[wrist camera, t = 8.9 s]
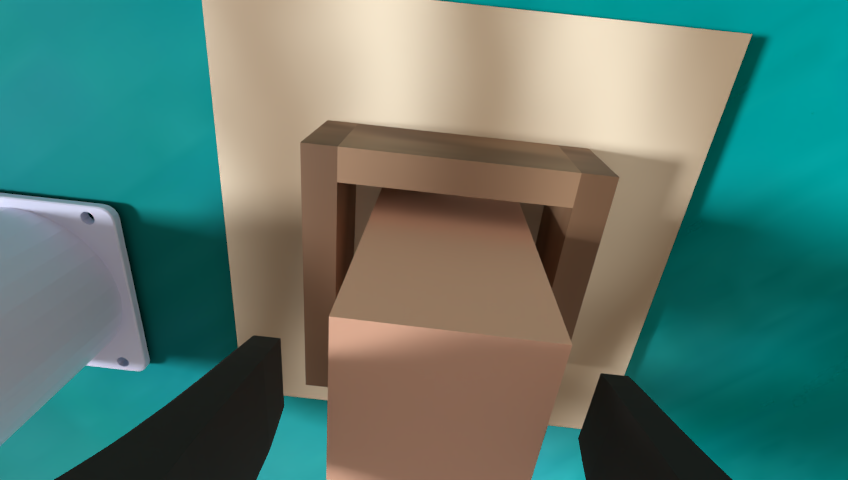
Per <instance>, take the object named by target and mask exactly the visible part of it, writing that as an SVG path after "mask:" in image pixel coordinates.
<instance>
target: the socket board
mask: <svg viewBox="0 0 848 480" xmlns="http://www.w3.org/2000/svg"><path fill="white" fill-rule="evenodd" d="M202 5H203V15H204V25H205V34H206V44H207V54H208V63H209V73H210V83H211V92H212V102H213V112H214V121H215V131H216V141H217V150H218V160H219V170H220V179H221V189H222V199H223V208H224V218H225V228H226V237H227V247H228V257H229V266H230V276H231V286H232V295H233V305H234V315H235V324H236V334H237V344H238V347H239V346H241V345H242V344H243V343H244V342H246V341H247V340H248V339H250V338H251V337H252V336H253V335H256V336H265V337H274V338H281V355H282V375H283V394H284V396H293V397H302V398H311V399H320V400H328V344H329V315H330V313H331V310H332V308H333V305H334V303H335V300H336V298H337V296H338V293H339V291H340V288H341V286H342V284H343V281H344V279H345V276H346V274H347V271H348V269H349V267H350V264H351V262H352V259H353V257H354V254H355V252H356V250H357V247H358V245H359V242H360V240H361V238H362V235H363V233H364V230H365V228H366V225H367V223H368V221H369V218H370V216H371V213H372V211H373V208H374V206H375V204H376V201H377V199H378V196H379V194H380V191H381V189H382V187H384V188H393V189H403V190H412V191H421V192H430V193H439V194H448V195H457V196H466V197H476V198H485V199H494V200H503V201H512V202H519V203H520V206H521V208H522V211H523V214H524V216H525V219H526V222H527V224H528V227H529V230H530V233H531V235H532V238H533V241H534V243H535V246H536V249H537V251H538V254H539V257H540V259H541V262H542V265H543V267H544V270H545V273H546V275H547V278H548V281H549V283H550V286H551V289H552V291H553V294H554V297H555V299H556V302H557V305H558V307H559V310H560V313H561V316H562V318H563V321H564V324H565V326H566V329H567V332H568V334H569V337H570V340H571V342H572V348H571V352H570V355H569V358H568V361H567V365H566V368H565V371H564V374H563V378H562V381H561V384H560V387H559V391H558V394H557V397H556V400H555V403H554V407H553V410H552V413H551V416H550V420H549V423H548V425H551V426H560V427H568V428H577V429H582V426H583V423H584V420H585V418H586V415H587V412H588V409H589V406H590V403H591V400H592V397H593V394H594V391H595V388H596V386H597V383H598V380H599V377H600V374H601V373H604V374H613V375H622V376H624V375H625V372H626V369H627V367H628V364H629V361H630V359H631V356H632V353H633V351H634V348H635V345H636V343H637V340H638V337H639V335H640V332H641V329H642V327H643V324H644V321H645V319H646V316H647V313H648V311H649V308H650V305H651V303H652V300H653V297H654V295H655V292H656V289H657V287H658V284H659V281H660V279H661V276H662V273H663V271H664V268H665V265H666V263H667V260H668V257H669V255H670V252H671V249H672V247H673V244H674V241H675V239H676V236H677V233H678V231H679V228H680V225H681V223H682V220H683V217H684V215H685V212H686V209H687V207H688V204H689V201H690V199H691V196H692V193H693V191H694V188H695V185H696V183H697V180H698V177H699V175H700V172H701V169H702V167H703V164H704V161H705V159H706V156H707V153H708V151H709V148H710V145H711V143H712V140H713V137H714V135H715V132H716V129H717V127H718V124H719V121H720V119H721V116H722V113H723V111H724V108H725V105H726V103H727V100H728V97H729V95H730V92H731V89H732V87H733V84H734V81H735V79H736V76H737V73H738V71H739V68H740V65H741V63H742V60H743V57H744V55H745V52H746V49H747V47H748V44H749V41H750V39H751V36H752V34H745V33H736V32H726V31H717V30H707V29H698V28H689V27H679V26H670V25H661V24H651V23H642V22H633V21H623V20H614V19H604V18H595V17H586V16H576V15H567V14H558V13H548V12H539V11H530V10H520V9H511V8H501V7H492V6H483V5H473V4H464V3H455V2H445V1H436V0H202Z"/></svg>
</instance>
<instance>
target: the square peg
mask: <svg viewBox="0 0 848 480" xmlns="http://www.w3.org/2000/svg"><path fill="white" fill-rule="evenodd" d="M571 348H572V342H571V340H570V337H569V334H568V332H567V329H566V326H565V324H564V321H563V318H562V316H561V313H560V310H559V307H558V305H557V302H556V299H555V297H554V294H553V291H552V289H551V286H550V283H549V281H548V278H547V275H546V273H545V270H544V267H543V265H542V262H541V259H540V257H539V254H538V251H537V249H536V246H535V243H534V241H533V238H532V235H531V233H530V230H529V227H528V224H527V222H526V219H525V216H524V214H523V211H522V208H521V206H520V203H519V202H512V201H503V200H494V199H485V198H476V197H466V196H457V195H448V194H439V193H430V192H421V191H412V190H403V189H393V188H384V187H382V189H381V191H380V194H379V196H378V199H377V201H376V204H375V206H374V208H373V211H372V213H371V216H370V218H369V221H368V223H367V225H366V228H365V230H364V233H363V235H362V238H361V240H360V242H359V245H358V247H357V250H356V252H355V254H354V257H353V259H352V262H351V264H350V267H349V269H348V271H347V274H346V276H345V279H344V281H343V284H342V286H341V288H340V291H339V293H338V296H337V298H336V300H335V303H334V305H333V308H332V310H331V313H330V315H329V344H328V411H327V477H326V479H327V480H531V478H532V475H533V471H534V468H535V465H536V462H537V459H538V455H539V452H540V449H541V446H542V442H543V439H544V436H545V433H546V429H547V426H548V423H549V420H550V416H551V413H552V410H553V407H554V403H555V400H556V397H557V394H558V391H559V387H560V384H561V381H562V378H563V374H564V371H565V368H566V365H567V361H568V358H569V355H570V352H571Z"/></svg>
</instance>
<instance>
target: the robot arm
mask: <svg viewBox="0 0 848 480" xmlns="http://www.w3.org/2000/svg"><path fill="white" fill-rule="evenodd" d="M88 213H90V214H91V215H93V217H94V220H93V219H92V218H91V217H90V216H89V215H88ZM126 359H127V360H126ZM149 363H150V358H149V353H148V349H147V344H146V339H145V335H144V330H143V325H142V320H141V316H140V311H139V306H138V302H137V297H136V292H135V288H134V283H133V278H132V273H131V269H130V264H129V259H128V255H127V250H126V245H125V241H124V236H123V231H122V226H121V222H120V217H119V215H118V213H117V212H116V210H115V209H114V208H112V207H111V206H109V205H105V204H99V203H90V202H81V201H71V200H62V199H53V198H44V197H35V196H26V195H17V194H8V193H0V446H1V445H2V444H3V443H4V442H5V441H6V440H7V439H8V438H9V437H10V436H11V435H12V434H13V433H15V432H16V431H17V430H18V429H19V428H20V427H21V426H22V425H23V424H24V423H25V422H26V421H27V420H28V419H29V418H30V417H31V416H33V415H34V414H35V413H36V412H37V411H38V410H39V409H40V408H41V407H42V406H43V405H44V404H45V403H46V402H47V401H48V400H49V399H51V398H52V397H53V396H54V395H55V394H56V393H57V392H58V391H59V390H60V389H61V388H62V387H63V386H64V385H65V384H66V383H67V382H69V381H70V380H71V379H72V378H73V377H74V376H75V375H76V374H77V373H78V372H79V371H80V370H81V369H82V368H83V367H84V366H86V365H87V366H96V367H104V368H113V369H122V370H131V371H142V370H144V369H145V368H146V367H147V365H148V364H149ZM283 408H284V394H283V375H282V355H281V338H274V337H265V336H256V335H253V336H252V337H251V338H250V339H248V340H247V341H246V342H244V343H243V344H242V345H241V346H239V347H238V348H237V349H236V350H235V351H233V352H232V353H231V354H230V355H229V356H227V357H226V358H225V359H224V360H222V361H221V362H220V363H219V364H218V365H216V366H215V367H214V368H213V369H211V370H210V371H209V372H208V373H207V374H205V375H204V376H203V377H202V378H200V379H199V380H198V381H197V382H195V383H194V384H193V385H191V386H190V387H189V388H188V389H186V390H185V391H184V392H182V393H181V394H180V395H179V396H177V397H176V398H175V399H174V400H172V401H171V402H170V403H168V404H167V405H166V406H164V407H163V408H162V409H160V410H159V411H157V412H156V413H155V414H153V415H152V416H150V417H149V418H148V419H146V420H145V421H144V422H142V423H141V424H139V425H138V426H137V427H135V428H134V429H132V430H131V431H130V432H128V433H127V434H125V435H124V436H122V437H121V438H119V439H118V440H116V441H115V442H114V443H112V444H111V445H109V446H108V447H106V448H104V449H103V450H101V451H100V452H98V453H97V454H95V455H93V456H92V457H90V458H89V459H87V460H85V461H84V462H82V463H81V464H79V465H77V466H76V467H74V468H73V469H71V470H69V471H68V472H66V473H64V474H63V475H61V476H59V477H58V478H56V479H54V480H256V479H257V477H258V474H259V472H260V470H261V468H262V466H263V464H264V461H265V459H266V457H267V455H268V452H269V450H270V447H271V444H272V441H273V439H274V436H275V433H276V430H277V427H278V423H279V420H280V417H281V414H282V411H283ZM578 439H579V445H580V450H581V456H582V462H583V467H584V472H585V477H586V480H732V479H731V478H730V477H729V476H728V475H727V474H726V473H725V472H724V471H723V470H722V469H721V468H720V467H718V466H717V465H716V464H715V463H714V462H713V461H712V460H711V459H710V458H709V457H708V456H707V455H706V454H705V453H704V452H703V451H702V450H701V449H700V448H699V447H698V446H697V445H696V444H695V443H694V442H693V441H692V440H691V439H690V438H689V437H688V436H687V435H686V434H685V433H684V432H683V431H682V430H681V429H680V428H679V427H678V426H677V425H676V424H675V423H674V422H673V421H672V420H671V419H670V418H669V417H668V416H667V415H666V414H665V413H664V412H663V411H662V410H661V409H660V408H659V407H658V405H657V404H656V403H655V402H654V401H653V400H652V399H651V398H650V397H649V396H648V395H647V394H646V393H645V392H644V391H643V390H642V389H641V388H640V387H639V386H638V385H637V384H636V383H635V382H634V381H633V380H632V379H631V378H629V377H628V376H622V375H613V374H604V373H601V374H600V377H599V380H598V383H597V386H596V388H595V391H594V394H593V397H592V400H591V403H590V406H589V409H588V412H587V415H586V418H585V420H584V423H583V426H582V429H581V432H580V435H579V438H578Z"/></svg>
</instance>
